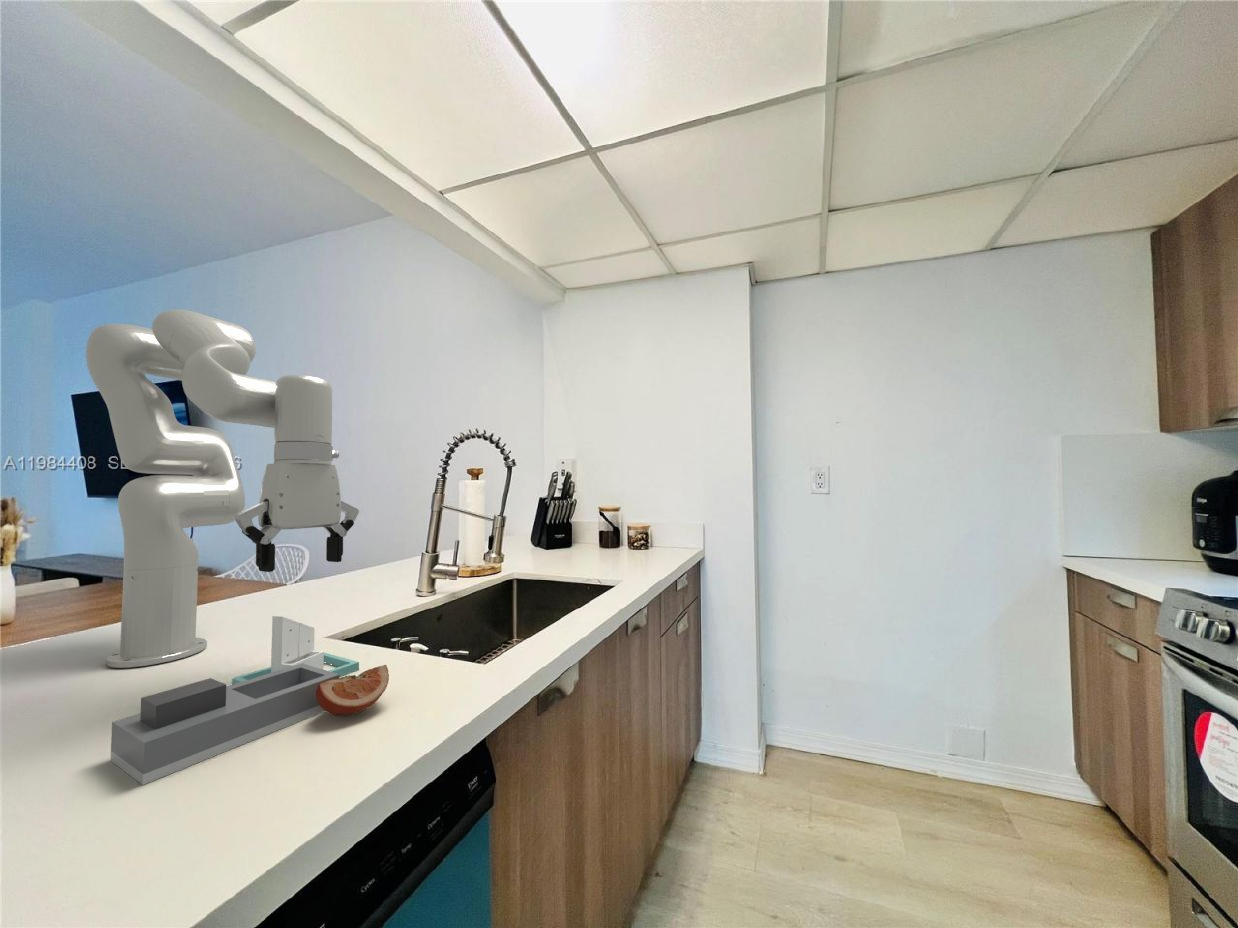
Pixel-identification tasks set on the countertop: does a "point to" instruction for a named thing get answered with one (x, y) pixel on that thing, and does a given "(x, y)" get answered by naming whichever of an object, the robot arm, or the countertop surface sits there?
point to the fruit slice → (352, 691)
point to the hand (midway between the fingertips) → (302, 566)
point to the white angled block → (293, 645)
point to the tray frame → (343, 664)
